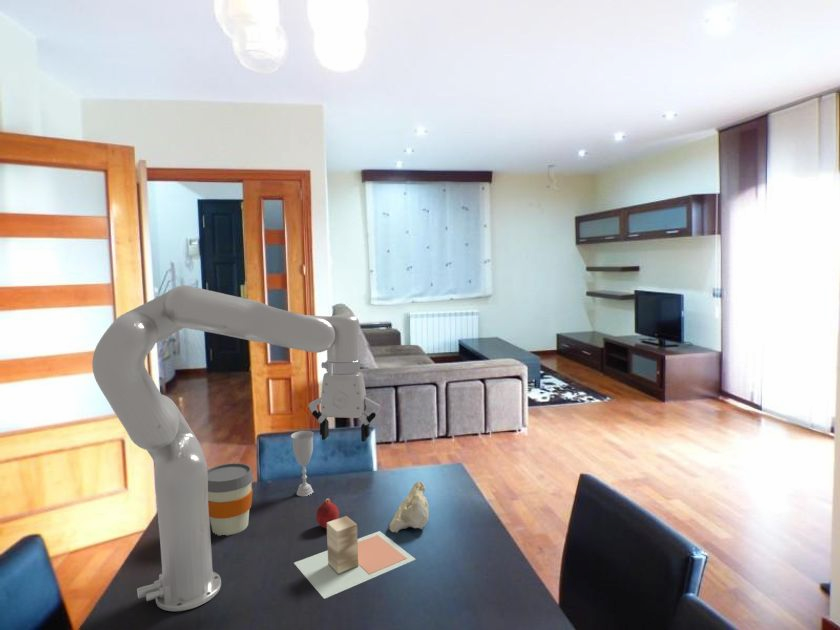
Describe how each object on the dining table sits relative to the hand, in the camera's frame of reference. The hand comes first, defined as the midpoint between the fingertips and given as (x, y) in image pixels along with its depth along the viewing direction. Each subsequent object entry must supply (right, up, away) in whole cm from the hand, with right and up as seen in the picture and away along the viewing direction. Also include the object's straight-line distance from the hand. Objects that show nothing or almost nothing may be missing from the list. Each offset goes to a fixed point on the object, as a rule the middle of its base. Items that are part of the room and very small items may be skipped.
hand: (344, 438), depth 122 cm
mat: (+3, -28, -4) cm, 28 cm away
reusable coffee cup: (-32, -27, +14) cm, 44 cm away
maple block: (0, -27, -6) cm, 28 cm away
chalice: (-17, -25, +33) cm, 45 cm away
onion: (-6, -26, +12) cm, 30 cm away
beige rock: (+15, -26, +15) cm, 34 cm away
